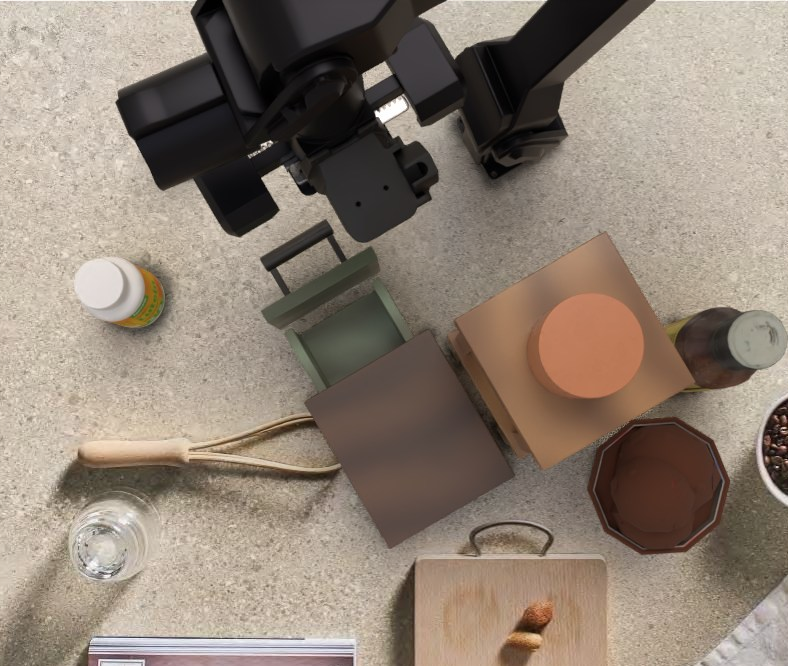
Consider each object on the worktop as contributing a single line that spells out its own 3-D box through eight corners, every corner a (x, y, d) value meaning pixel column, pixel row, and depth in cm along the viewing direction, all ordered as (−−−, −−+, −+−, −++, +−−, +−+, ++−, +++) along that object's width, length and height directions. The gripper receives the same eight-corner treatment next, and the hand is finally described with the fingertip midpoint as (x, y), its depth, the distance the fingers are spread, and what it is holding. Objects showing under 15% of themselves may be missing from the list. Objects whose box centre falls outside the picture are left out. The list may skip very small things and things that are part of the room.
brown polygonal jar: (651, 560, 78) (707, 597, 63) (543, 493, 78) (575, 514, 63) (714, 459, 78) (786, 471, 63) (607, 392, 78) (653, 389, 63)
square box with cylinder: (547, 283, 78) (606, 230, 55) (610, 389, 78) (696, 382, 55) (441, 345, 79) (454, 319, 55) (503, 451, 78) (543, 471, 55)
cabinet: (315, 402, 79) (303, 402, 70) (426, 336, 79) (429, 328, 70) (391, 533, 78) (389, 549, 70) (504, 468, 78) (515, 476, 70)
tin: (592, 285, 55) (610, 273, 50) (641, 368, 55) (664, 364, 50) (508, 333, 55) (518, 326, 50) (557, 416, 55) (572, 417, 50)
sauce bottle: (722, 336, 78) (829, 312, 58) (700, 402, 78) (798, 401, 58) (652, 311, 78) (734, 280, 58) (629, 378, 78) (704, 369, 58)
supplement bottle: (159, 334, 79) (124, 324, 69) (101, 322, 79) (58, 310, 69) (171, 275, 79) (138, 257, 69) (113, 263, 79) (72, 243, 69)
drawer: (248, 277, 78) (233, 265, 71) (349, 217, 78) (344, 199, 71) (344, 440, 78) (337, 443, 71) (445, 381, 78) (449, 378, 71)
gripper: (246, 288, 51) (284, 316, 67) (523, 126, 51) (497, 191, 67) (151, 124, 51) (211, 190, 67) (426, -38, 51) (422, 66, 67)
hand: (337, 162), depth 67 cm, fingers closed
